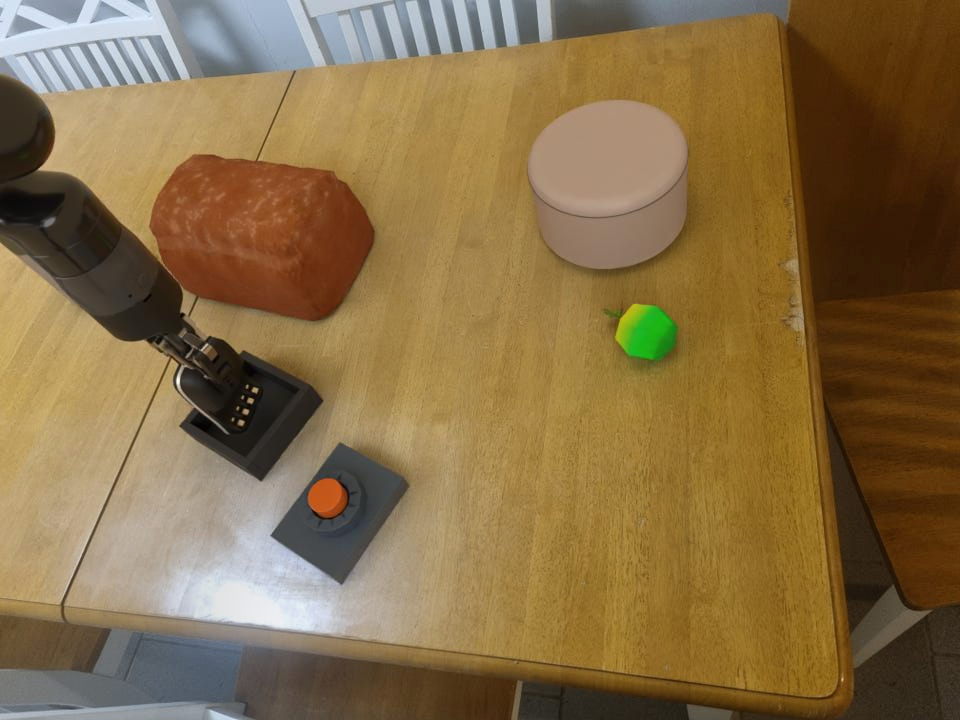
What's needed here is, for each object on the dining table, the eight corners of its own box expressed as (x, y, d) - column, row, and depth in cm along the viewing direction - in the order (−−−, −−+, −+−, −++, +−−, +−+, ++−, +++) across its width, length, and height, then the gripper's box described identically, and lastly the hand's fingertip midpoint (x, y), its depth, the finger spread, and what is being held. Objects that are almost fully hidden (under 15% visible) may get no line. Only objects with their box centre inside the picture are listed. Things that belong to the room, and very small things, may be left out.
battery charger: (251, 439, 82) (197, 388, 73) (222, 436, 83) (165, 385, 74) (273, 386, 85) (224, 330, 76) (245, 383, 87) (194, 328, 77)
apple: (676, 319, 72) (599, 283, 77) (650, 376, 74) (577, 338, 79) (699, 317, 78) (626, 284, 83) (674, 370, 80) (605, 334, 85)
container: (689, 274, 84) (691, 201, 74) (534, 280, 89) (517, 213, 79) (685, 163, 93) (686, 86, 84) (545, 174, 98) (531, 102, 88)
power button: (333, 524, 73) (326, 518, 72) (307, 508, 75) (300, 501, 73) (355, 494, 74) (348, 487, 73) (329, 479, 76) (322, 472, 74)
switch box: (341, 585, 73) (326, 573, 70) (279, 542, 77) (261, 529, 74) (409, 485, 77) (397, 469, 74) (347, 450, 82) (333, 434, 78)
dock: (261, 481, 82) (245, 468, 79) (195, 439, 87) (178, 426, 84) (323, 400, 86) (311, 385, 83) (257, 365, 91) (243, 349, 88)
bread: (329, 329, 92) (276, 252, 79) (181, 297, 101) (113, 223, 89) (385, 227, 99) (345, 143, 87) (243, 206, 108) (188, 127, 96)
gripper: (40, 285, 66) (150, 381, 80) (136, 339, 60) (238, 433, 74) (99, 227, 69) (196, 329, 83) (197, 273, 63) (284, 376, 76)
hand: (215, 378), depth 78 cm, fingers closed on battery charger, 5 cm apart
